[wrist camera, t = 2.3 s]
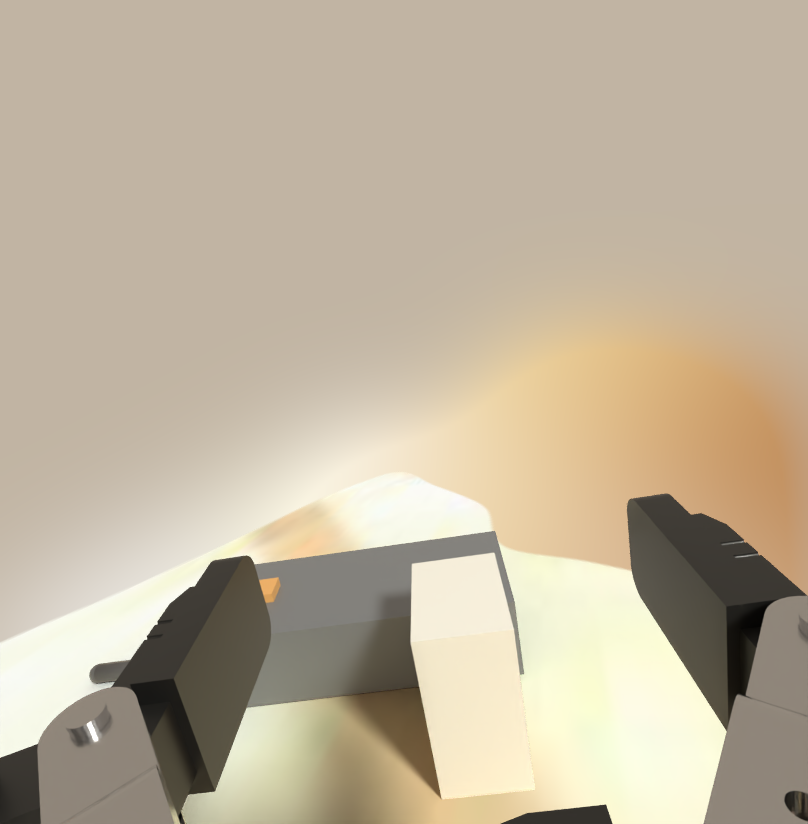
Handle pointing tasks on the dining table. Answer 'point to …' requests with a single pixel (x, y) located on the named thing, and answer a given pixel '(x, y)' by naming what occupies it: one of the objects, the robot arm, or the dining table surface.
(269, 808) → the dining table surface
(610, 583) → the dining table surface
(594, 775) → the dining table surface
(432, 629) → the plug
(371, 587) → the socket strip
